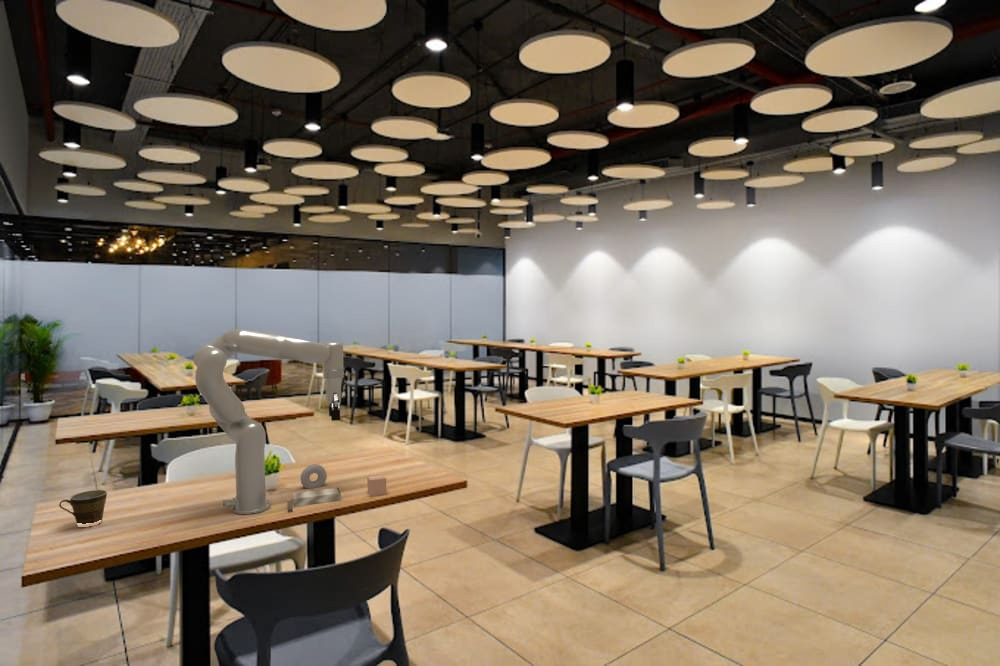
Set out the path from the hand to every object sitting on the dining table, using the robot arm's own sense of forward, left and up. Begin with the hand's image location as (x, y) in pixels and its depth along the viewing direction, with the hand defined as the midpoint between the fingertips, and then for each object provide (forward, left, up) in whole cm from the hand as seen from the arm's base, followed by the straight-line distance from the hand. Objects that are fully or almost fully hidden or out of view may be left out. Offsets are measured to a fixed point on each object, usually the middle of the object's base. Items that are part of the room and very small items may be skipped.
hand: (334, 418), depth 225 cm
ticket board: (0, -14, -28) cm, 31 cm away
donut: (-8, +4, -28) cm, 30 cm away
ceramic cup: (-81, -5, -28) cm, 86 cm away
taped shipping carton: (+13, -14, -27) cm, 33 cm away
